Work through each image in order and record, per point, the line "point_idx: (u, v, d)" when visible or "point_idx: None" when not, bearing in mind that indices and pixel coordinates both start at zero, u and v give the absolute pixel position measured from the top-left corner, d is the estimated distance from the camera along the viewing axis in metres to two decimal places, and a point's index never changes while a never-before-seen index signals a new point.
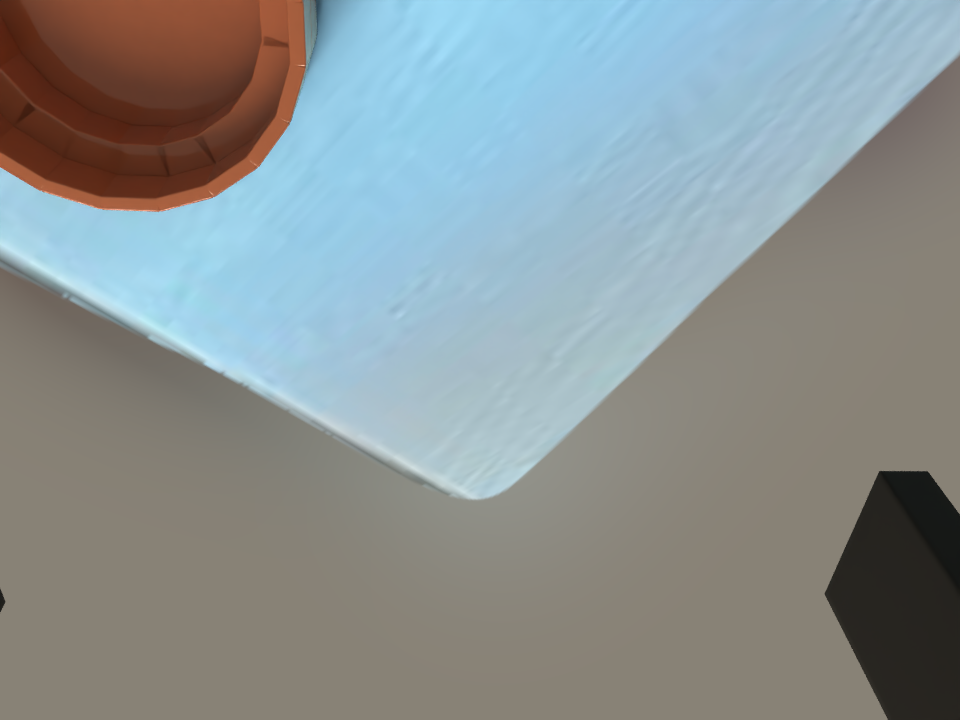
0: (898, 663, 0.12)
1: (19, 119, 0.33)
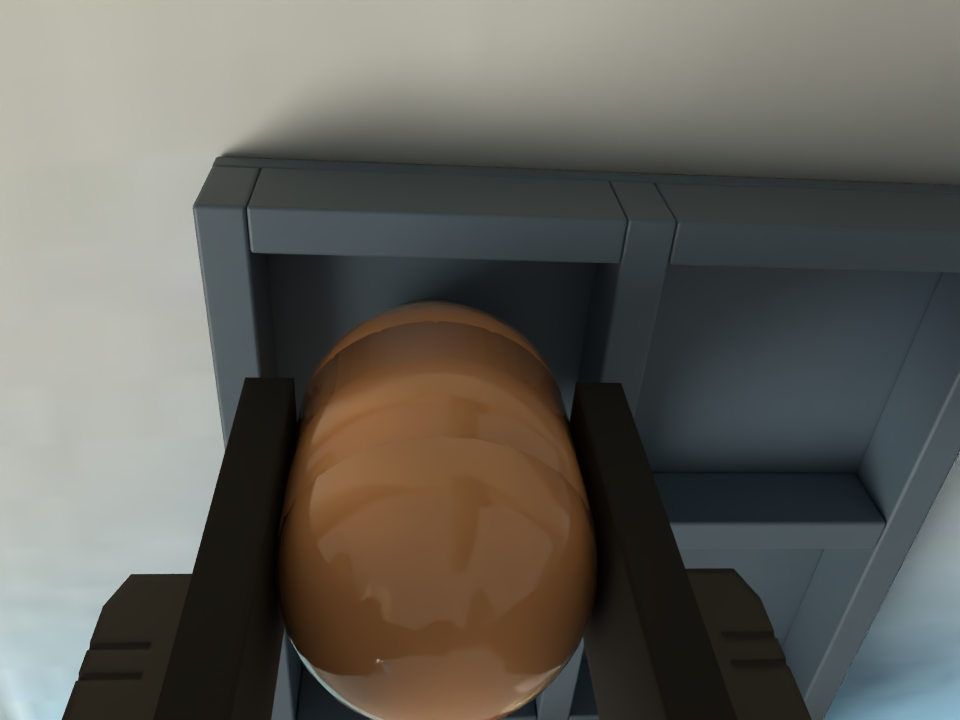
0: None
1: None
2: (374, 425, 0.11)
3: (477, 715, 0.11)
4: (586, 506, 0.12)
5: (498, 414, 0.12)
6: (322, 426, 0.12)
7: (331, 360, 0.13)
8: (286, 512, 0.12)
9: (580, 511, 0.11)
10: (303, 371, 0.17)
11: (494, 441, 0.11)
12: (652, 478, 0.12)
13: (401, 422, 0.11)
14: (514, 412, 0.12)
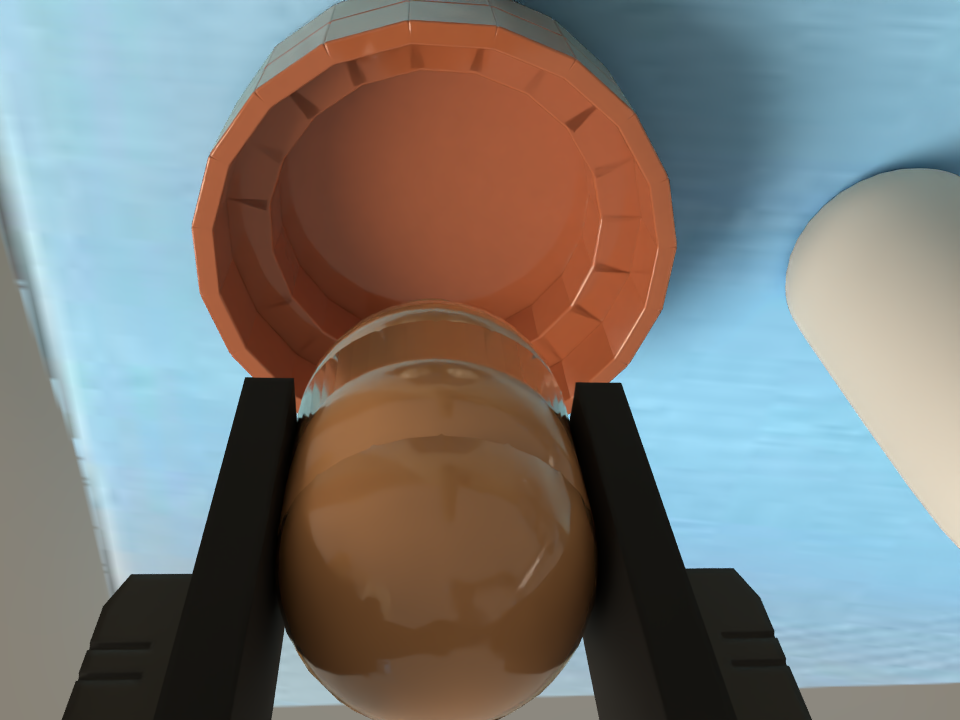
0: None
1: (239, 200, 0.26)
2: (374, 424, 0.11)
3: (477, 714, 0.11)
4: (586, 505, 0.12)
5: (498, 413, 0.12)
6: (322, 425, 0.12)
7: (330, 360, 0.13)
8: (286, 511, 0.12)
9: (580, 510, 0.11)
10: None
11: (494, 440, 0.11)
12: (652, 478, 0.12)
13: (401, 421, 0.11)
14: (514, 411, 0.12)
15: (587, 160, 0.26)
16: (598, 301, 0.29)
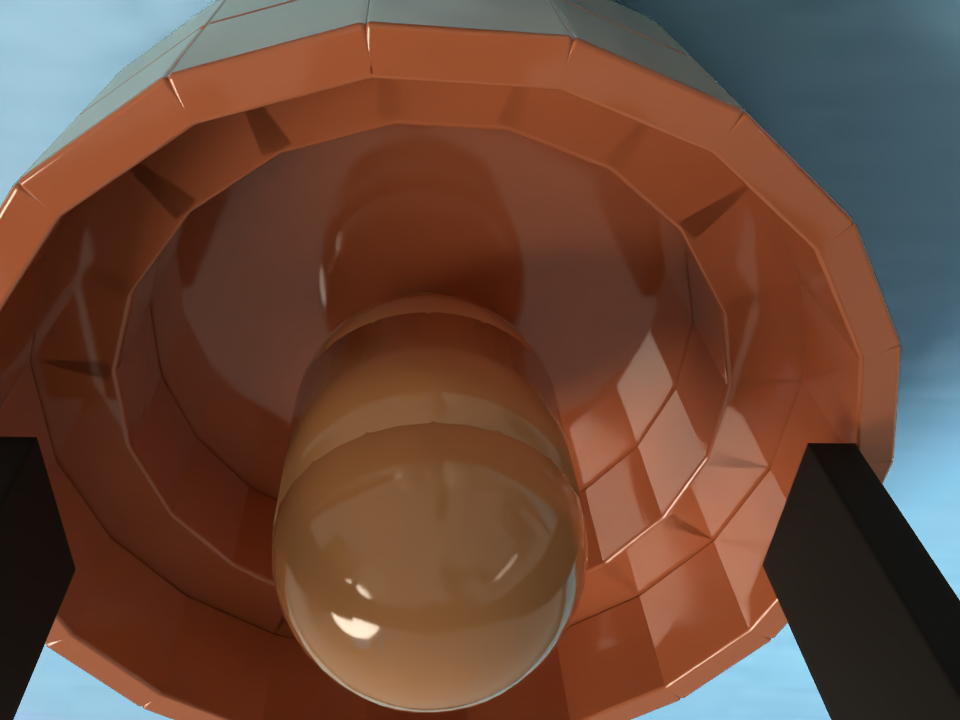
0: (823, 627, 0.12)
1: (55, 363, 0.14)
2: (368, 412, 0.12)
3: (469, 694, 0.11)
4: (575, 491, 0.12)
5: (489, 401, 0.12)
6: (317, 414, 0.12)
7: (326, 351, 0.14)
8: (282, 498, 0.12)
9: (569, 495, 0.12)
10: None
11: (485, 427, 0.11)
12: (927, 556, 0.11)
13: (394, 409, 0.12)
14: (505, 399, 0.12)
15: (715, 288, 0.14)
16: (710, 510, 0.17)
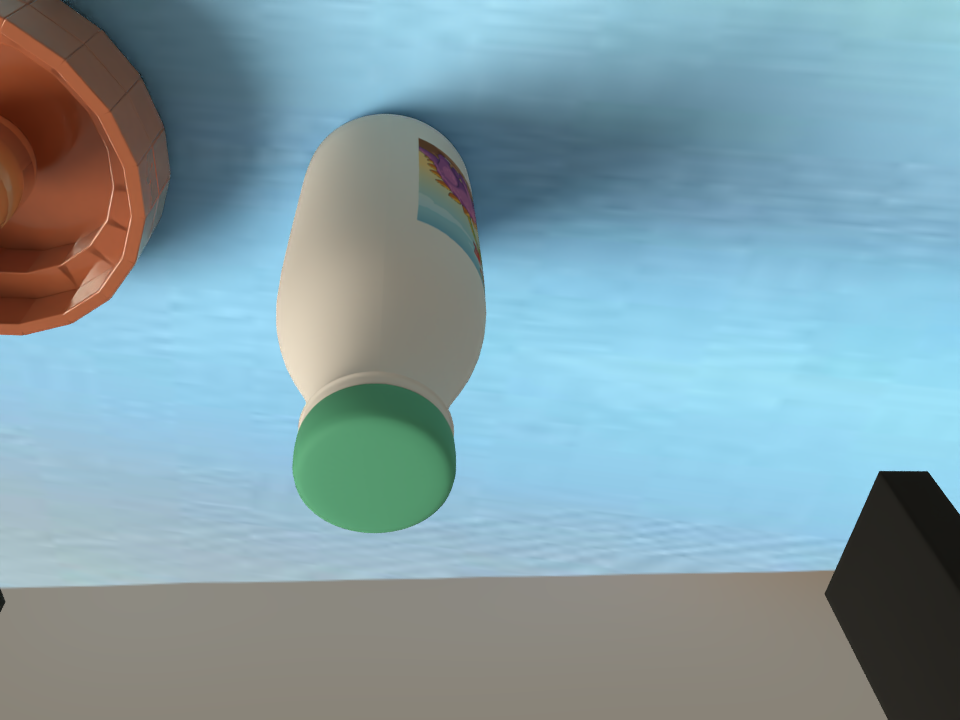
0: (898, 663, 0.12)
1: None
2: None
3: None
4: None
5: None
6: None
7: None
8: None
9: None
10: None
11: None
12: None
13: None
14: None
15: (78, 100, 0.34)
16: (126, 216, 0.37)
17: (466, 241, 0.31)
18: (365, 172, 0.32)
